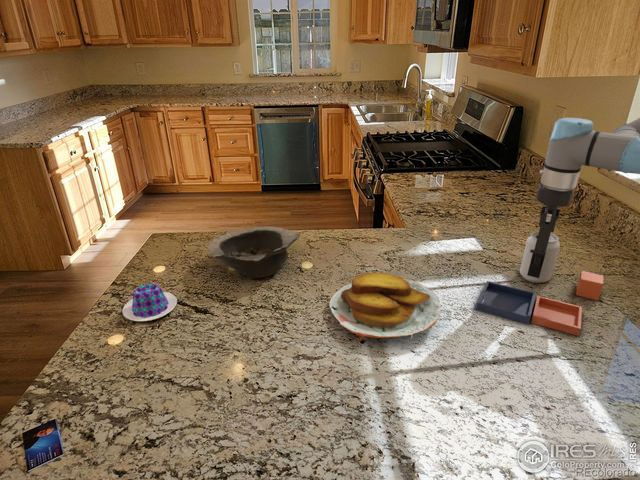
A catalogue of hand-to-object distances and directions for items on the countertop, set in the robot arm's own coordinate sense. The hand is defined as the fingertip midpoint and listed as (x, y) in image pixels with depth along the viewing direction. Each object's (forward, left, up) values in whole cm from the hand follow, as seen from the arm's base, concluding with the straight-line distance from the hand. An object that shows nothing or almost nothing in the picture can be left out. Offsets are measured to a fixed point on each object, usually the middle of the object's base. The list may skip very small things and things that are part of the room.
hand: (536, 264), depth 110 cm
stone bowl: (+68, +31, -4) cm, 75 cm away
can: (0, 0, -4) cm, 4 cm away
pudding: (+76, +60, -4) cm, 97 cm away
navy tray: (+4, +17, -4) cm, 18 cm away
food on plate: (+28, +34, -4) cm, 44 cm away
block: (-12, +2, -4) cm, 13 cm away
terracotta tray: (-7, +17, -4) cm, 19 cm away
